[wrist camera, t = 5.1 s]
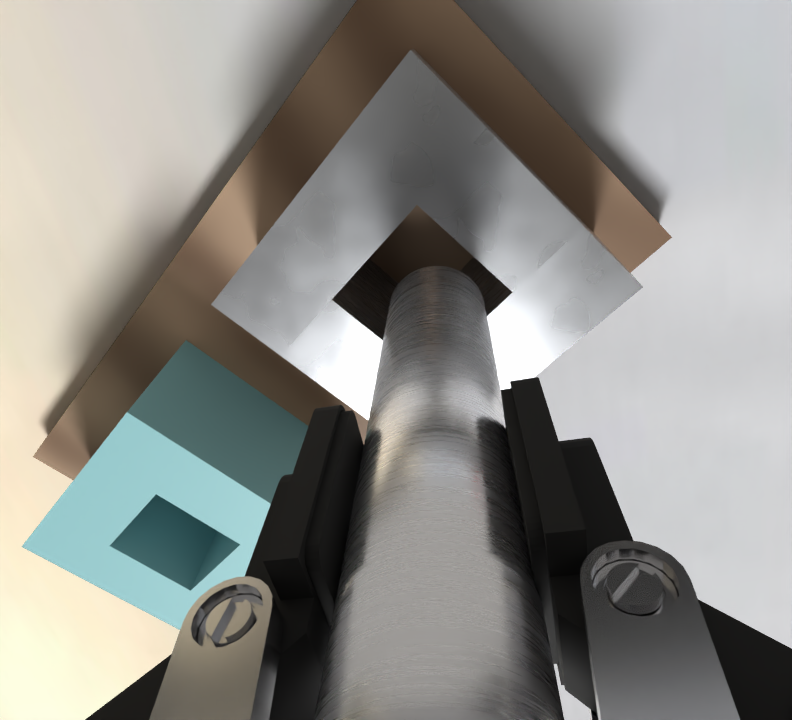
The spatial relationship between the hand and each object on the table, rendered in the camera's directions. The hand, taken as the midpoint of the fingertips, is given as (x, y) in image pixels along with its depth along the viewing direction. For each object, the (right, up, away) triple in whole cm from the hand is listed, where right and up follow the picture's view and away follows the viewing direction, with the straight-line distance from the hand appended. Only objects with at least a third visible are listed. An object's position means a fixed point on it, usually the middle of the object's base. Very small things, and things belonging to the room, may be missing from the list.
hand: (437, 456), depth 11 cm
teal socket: (-10, -3, +19) cm, 21 cm away
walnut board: (-5, +3, +17) cm, 18 cm away
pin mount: (0, +7, +12) cm, 14 cm away
